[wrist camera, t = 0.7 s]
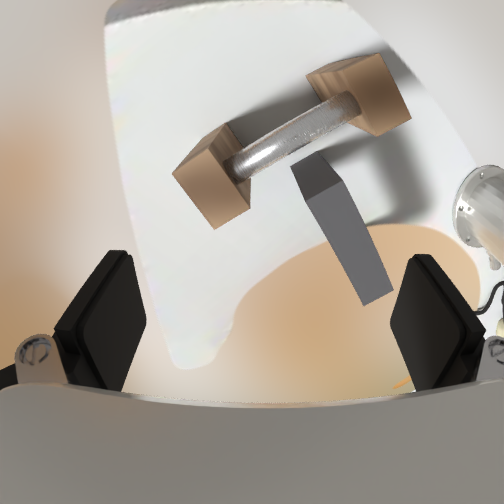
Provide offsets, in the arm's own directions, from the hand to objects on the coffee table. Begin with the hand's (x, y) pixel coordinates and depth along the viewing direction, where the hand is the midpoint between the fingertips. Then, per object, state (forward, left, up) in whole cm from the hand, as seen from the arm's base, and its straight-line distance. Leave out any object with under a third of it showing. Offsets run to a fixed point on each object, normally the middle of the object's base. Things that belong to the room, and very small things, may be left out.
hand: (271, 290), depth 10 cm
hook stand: (+1, -3, -27) cm, 27 cm away
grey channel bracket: (-11, -3, -27) cm, 29 cm away
